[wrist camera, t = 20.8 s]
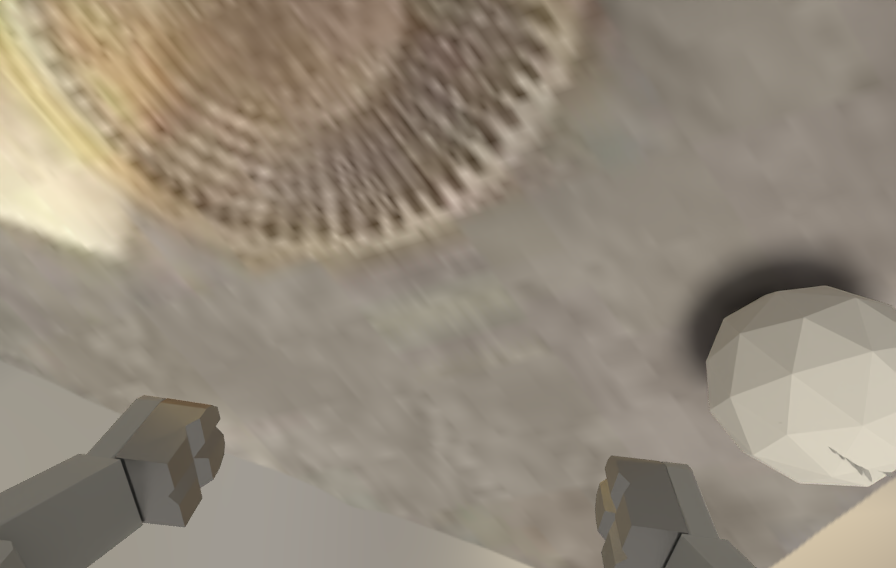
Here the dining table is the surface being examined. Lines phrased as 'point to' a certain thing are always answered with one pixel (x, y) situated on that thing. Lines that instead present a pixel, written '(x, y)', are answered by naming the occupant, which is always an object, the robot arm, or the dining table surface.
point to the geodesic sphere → (809, 384)
